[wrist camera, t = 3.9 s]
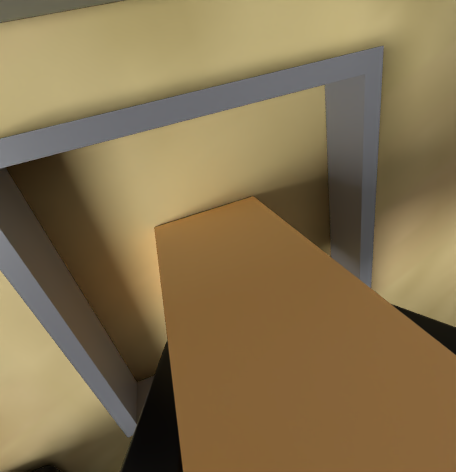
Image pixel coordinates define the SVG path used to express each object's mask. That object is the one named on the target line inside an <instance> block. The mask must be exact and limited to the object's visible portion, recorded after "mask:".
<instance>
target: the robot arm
mask: <svg viewBox="0 0 456 472" xmlns="http://www.w3.org/2000/svg"><path fill="white" fill-rule="evenodd" d="M391 305H393V304H391ZM393 306H394V307H395V308H396V309H398V310H399V311H400V312H402V313H403V314H404V315H405V316H407V317H408V318H409V319H410V320H412V321H413V322H414V323H416V324H417V325H418V326H419V327H421V328H422V329H423V330H424V331H426V332H427V333H428V334H430V335H431V336H432V337H433V338H435V339H436V340H437V341H439V342H440V343H441V344H442V345H444V346H445V347H446V348H447V349H449V350H450V351H451V352H453V353H454V354H455V355H456V327H453V326H450V325H448V324H445V323H442V322H439V321H437V320H434V319H431V318H428V317H426V316H423V315H420V314H417V313H415V312H412V311H409V310H406V309H404V308H401V307H398V306H395V305H393ZM32 472H61V471H60V470H58V469H57V468H56V467H54V466H45V467H42V468H39V469H37V470H35V471H32ZM120 472H183V466H182V457H181V449H180V441H179V432H178V424H177V415H176V407H175V398H174V390H173V381H172V373H171V364H170V356H169V348H168V341H167V342H166V344H165V347H164V350H163V353H162V356H161V358H160V361H159V364H158V367H157V370H156V372H155V375H154V378H153V381H152V384H151V386H150V389H149V392H148V395H147V398H146V400H145V403H144V406H143V409H142V412H141V414H140V417H139V420H138V423H137V426H136V428H135V431H134V434H133V437H132V440H131V442H130V445H129V448H128V451H127V454H126V456H125V459H124V462H123V465H122V468H121V470H120Z"/></svg>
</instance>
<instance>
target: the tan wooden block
mask: <svg viewBox="0 0 456 472" xmlns="http://www.w3.org/2000/svg"><path fill="white" fill-rule="evenodd" d="M154 229H155V238H156V246H157V255H158V263H159V272H160V280H161V288H162V297H163V305H164V314H165V322H166V331H167V339H168V348H169V356H170V364H171V373H172V381H173V390H174V398H175V407H176V415H177V424H178V432H179V441H180V449H181V457H182V466H183V472H456V355H455V354H454V353H453V352H451V351H450V350H449V349H447V348H446V347H445V346H444V345H442V344H441V343H440V342H439V341H437V340H436V339H435V338H433V337H432V336H431V335H430V334H428V333H427V332H426V331H424V330H423V329H422V328H421V327H419V326H418V325H417V324H416V323H414V322H413V321H412V320H410V319H409V318H408V317H407V316H405V315H404V314H403V313H402V312H400V311H399V310H398V309H396V308H395V307H394V306H393V305H391V304H390V303H389V302H387V301H386V300H385V299H384V298H382V297H381V296H380V295H379V294H377V293H376V292H375V291H373V290H372V289H371V288H370V287H368V286H367V285H366V284H365V283H363V282H362V281H361V280H359V279H358V278H357V277H356V276H354V275H353V274H352V273H351V272H349V271H348V270H347V269H345V268H344V267H343V266H342V265H340V264H339V263H338V262H336V261H335V260H334V259H333V258H331V257H330V256H329V255H328V254H326V253H325V252H324V251H322V250H321V249H320V248H319V247H317V246H316V245H315V244H314V243H312V242H311V241H310V240H308V239H307V238H306V237H305V236H303V235H302V234H301V233H299V232H298V231H297V230H296V229H294V228H293V227H292V226H291V225H289V224H288V223H287V222H285V221H284V220H283V219H282V218H280V217H279V216H278V215H277V214H275V213H274V212H273V211H271V210H270V209H269V208H268V207H266V206H265V205H264V204H262V203H261V202H260V201H259V200H257V199H256V198H255V197H254V196H252V197H249V198H246V199H242V200H239V201H236V202H233V203H230V204H227V205H224V206H220V207H217V208H214V209H211V210H208V211H205V212H201V213H198V214H195V215H192V216H189V217H186V218H182V219H179V220H176V221H173V222H170V223H167V224H163V225H160V226H157V227H154Z"/></svg>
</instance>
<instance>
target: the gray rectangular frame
mask: <svg viewBox="0 0 456 472" xmlns="http://www.w3.org/2000/svg"><path fill="white" fill-rule="evenodd" d="M117 1H122V0H0V23H1V22H6V21H12V20H17V19H23V18H28V17H34V16H40V15H45V14H51V13H56V12H62V11H67V10H73V9H78V8H84V7H89V6H95V5H100V4H106V3H111V2H117Z"/></svg>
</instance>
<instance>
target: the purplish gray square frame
mask: <svg viewBox="0 0 456 472" xmlns="http://www.w3.org/2000/svg"><path fill="white" fill-rule="evenodd" d="M383 49H384V46H380V47H376V48H372V49H367V50H363V51H359V52H355V53H351V54H347V55H343V56H339V57H335V58H330V59H326V60H322V61H318V62H314V63H310V64H306V65H302V66H297V67H293V68H289V69H285V70H281V71H277V72H273V73H269V74H265V75H260V76H256V77H252V78H248V79H244V80H240V81H236V82H232V83H227V84H223V85H219V86H215V87H211V88H207V89H203V90H199V91H195V92H190V93H186V94H182V95H178V96H174V97H170V98H166V99H162V100H157V101H153V102H149V103H145V104H141V105H137V106H133V107H129V108H125V109H120V110H116V111H112V112H108V113H104V114H100V115H96V116H92V117H87V118H83V119H79V120H75V121H71V122H67V123H63V124H59V125H55V126H50V127H46V128H42V129H38V130H34V131H30V132H26V133H22V134H18V135H13V136H9V137H5V138H1V139H0V270H1V272H2V273H3V274H4V275H5V277H6V278H7V279H8V281H9V282H10V283H11V285H12V286H13V287H14V289H15V290H16V291H17V293H18V294H19V295H20V296H21V298H22V299H23V300H24V302H25V303H26V304H27V306H28V307H29V308H30V310H31V311H32V312H33V314H34V315H35V316H36V318H37V319H38V320H39V321H40V323H41V324H42V325H43V327H44V328H45V329H46V331H47V332H48V333H49V335H50V336H51V337H52V339H53V340H54V341H55V343H56V344H57V345H58V346H59V348H60V349H61V350H62V352H63V353H64V354H65V356H66V357H67V358H68V360H69V361H70V362H71V364H72V365H73V366H74V368H75V369H76V370H77V371H78V373H79V374H80V375H81V377H82V378H83V379H84V381H85V382H86V383H87V385H88V386H89V387H90V389H91V390H92V391H93V392H94V394H95V395H96V396H97V398H98V399H99V400H100V402H101V403H102V404H103V406H104V407H105V408H106V410H107V411H108V412H109V414H110V415H111V416H112V417H113V419H114V420H115V421H116V423H117V424H118V425H119V427H120V428H121V429H122V431H123V432H124V433H125V435H126V436H127V437H130V436H133V434H134V431H135V428H136V426H137V423H138V420H139V417H140V414H141V412H142V409H143V406H144V403H145V400H146V398H147V395H148V392H149V389H150V386H151V384H152V381H153V378H154V376H152V377H149V378H147V379H144V380H142V381H139V382H136V380H135V378H134V377H133V375H132V373H131V372H130V370H129V369H128V367H127V365H126V364H125V362H124V360H123V359H122V357H121V355H120V354H119V352H118V351H117V349H116V347H115V346H114V344H113V342H112V341H111V339H110V338H109V336H108V334H107V333H106V331H105V329H104V328H103V326H102V324H101V323H100V321H99V320H98V318H97V316H96V315H95V313H94V311H93V310H92V308H91V306H90V305H89V303H88V302H87V300H86V298H85V297H84V295H83V293H82V292H81V290H80V288H79V287H78V285H77V284H76V282H75V280H74V279H73V277H72V275H71V274H70V272H69V271H68V269H67V267H66V266H65V264H64V262H63V261H62V259H61V257H60V256H59V254H58V253H57V251H56V249H55V248H54V246H53V244H52V243H51V241H50V239H49V238H48V236H47V235H46V233H45V231H44V230H43V228H42V226H41V225H40V223H39V222H38V220H37V218H36V217H35V215H34V213H33V212H32V210H31V208H30V207H29V205H28V204H27V202H26V200H25V199H24V197H23V195H22V194H21V192H20V190H19V189H18V187H17V186H16V184H15V182H14V181H13V179H12V177H11V176H10V174H9V172H8V171H7V169H6V168H5V167H8V166H12V165H16V164H20V163H24V162H27V161H31V160H35V159H39V158H43V157H47V156H51V155H54V154H58V153H62V152H66V151H70V150H74V149H78V148H81V147H85V146H89V145H93V144H97V143H101V142H105V141H109V140H112V139H116V138H120V137H124V136H128V135H132V134H136V133H139V132H143V131H147V130H151V129H155V128H159V127H163V126H166V125H170V124H174V123H178V122H182V121H186V120H190V119H193V118H197V117H201V116H205V115H209V114H213V113H217V112H221V111H224V110H228V109H232V108H236V107H240V106H244V105H248V104H251V103H255V102H259V101H263V100H267V99H271V98H275V97H278V96H282V95H286V94H290V93H294V92H298V91H302V90H306V89H309V88H313V87H317V86H321V85H325V101H326V128H327V156H328V184H329V211H330V239H331V258H333V259H334V260H335V261H336V262H338V263H339V264H340V265H342V266H343V267H344V268H345V269H347V270H348V271H349V272H351V273H352V274H353V275H354V276H356V277H357V278H358V279H359V280H361V281H362V282H363V283H365V284H366V285H367V286H368V287H370V288H371V279H372V260H373V241H374V222H375V202H376V183H377V164H378V145H379V126H380V107H381V87H382V68H383Z"/></svg>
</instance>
